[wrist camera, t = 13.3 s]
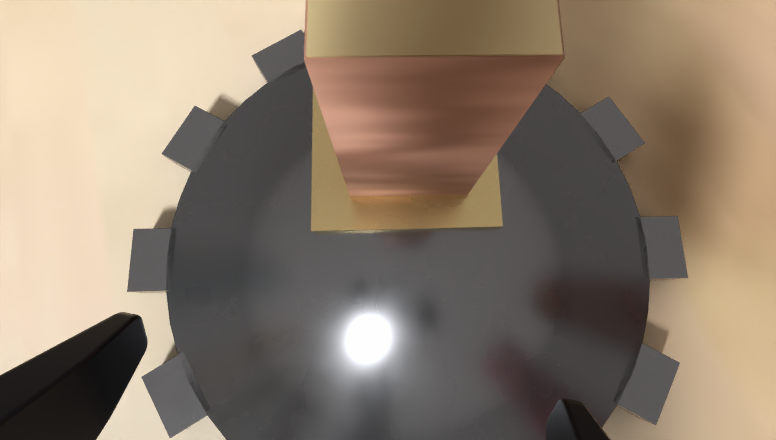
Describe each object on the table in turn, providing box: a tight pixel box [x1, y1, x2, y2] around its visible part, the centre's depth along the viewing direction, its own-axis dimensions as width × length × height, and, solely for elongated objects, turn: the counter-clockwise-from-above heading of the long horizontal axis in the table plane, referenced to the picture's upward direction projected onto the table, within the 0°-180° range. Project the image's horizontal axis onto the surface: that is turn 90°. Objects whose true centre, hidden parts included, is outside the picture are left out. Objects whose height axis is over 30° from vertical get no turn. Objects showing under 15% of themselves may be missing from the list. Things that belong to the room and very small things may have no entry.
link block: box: [304, 0, 565, 196], centre depth 13 cm, size 5×5×10 cm
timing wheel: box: [127, 30, 688, 440], centre depth 18 cm, size 23×23×1 cm
